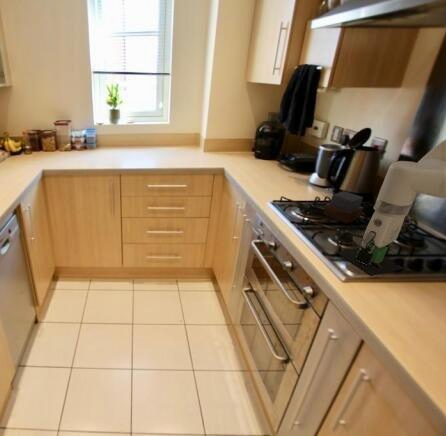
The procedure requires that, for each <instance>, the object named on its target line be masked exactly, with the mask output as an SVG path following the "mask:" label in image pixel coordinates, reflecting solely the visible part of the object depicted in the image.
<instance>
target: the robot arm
mask: <svg viewBox="0 0 446 436" xmlns="http://www.w3.org/2000/svg"><path fill="white" fill-rule="evenodd" d="M417 194H422V195H426V196H430V197H434V198H441V199H446V138H445V139H444V140H442V141H440V143H438V144H437V145H435V146H434V147H433V148H431V150H430V151H428V152H427V153H426V154H425V155H424V156H423V157H422V158H420V159H419V160H418V161H417V162H415V161H407V160H398V161H394V162H393V163H391V164H390V165H389V167H388V169H387V172H386V175H385V177H384V179H383V183H382V185H381V187H380V189H379V192H378V195H377V198H376V199H375V202H374V205H373V210H374V212H373V214H372V216H371V218H370V219H369V222H368V224H367V226H366V229H365V231H364V234H363V237H362V241H361V243H360V245H361V248H360V247H359V248H360V251H359V254H358V256H357V259H356V260H358V261H360V262H363V263H365V264H367V265H368V264H369V263H370V260H371V258H372V255H373V253H372V252H373V251H374V249H375V248H376V246H378V247H379V248H381V247H384V246H386V247H388V248H389V246H390V244H392V243H393V242H395V241H396V240H397V239H398V237H399V234H400V233H401V232H400V230H401V227H402V224H403V221H404V218H405V216H407V214H408V212H409V210H410V208H411V205H412V203H413V202H414V201H415V199H416V197H417ZM371 241H374V242H375V244H374V243H372V242H371ZM369 244H370V245H373V246H372V247H371V249H370V247H369Z"/></svg>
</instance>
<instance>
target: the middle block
mask: <svg viewBox="0 0 446 436" xmlns="http://www.w3.org/2000/svg"><path fill="white" fill-rule="evenodd" d="M363 199H364V197H363V196H362V195H358V194H354V193H351V192H348V191H345V190H343V191H340V192H337V193H334V194H332V196H331V200H330V202H331V203H330V202H329V203H330V204H331V205H333V206H336V207H339V208H342V209H344V210H347V211H351V210H353V209H356V208H358V207H360V206H361V204H362V202H363Z"/></svg>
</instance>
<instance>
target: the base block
mask: <svg viewBox="0 0 446 436" xmlns="http://www.w3.org/2000/svg"><path fill="white" fill-rule="evenodd" d="M330 203H331V201H330V202H327V203H325V205H324V208H323V211H322V215H324V216H325V217H327V218H331V219H333V220H336V221H338V222H341V223H344V224H349V223H351V222H353V221H356V220H359V219H360V218H361V216H362V215H363V214H362V213H363V211H364V208H365V207H364V206H361V205H360V207H358V208H356V209H353V210H351V211H347V210H344V209H342V208H339V207H336V206H333V205H331V204H330Z"/></svg>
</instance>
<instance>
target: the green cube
mask: <svg viewBox="0 0 446 436" xmlns="http://www.w3.org/2000/svg"><path fill="white" fill-rule="evenodd" d="M371 242H372V243H374V244H375V242H374V241H371ZM372 246H373V245H370V244H369V247H370V249H371V247H372ZM358 248H359V250H358V253H357V255H356V257H357V256H358V254H359V251H360V248H361V244H360V245H359V247H358ZM388 249H389V246H388V247H386V246H384V247H381V248H379V247H378V246H376V248H375V249H374V251H373V252H372V253H373V255H372V258H371V260H370V262H374V263H376V262H379V261H381V260H383V258H384V256H385V257H386V254H387V251H388ZM379 263H380V262H379ZM370 265H371V264H370Z"/></svg>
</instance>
